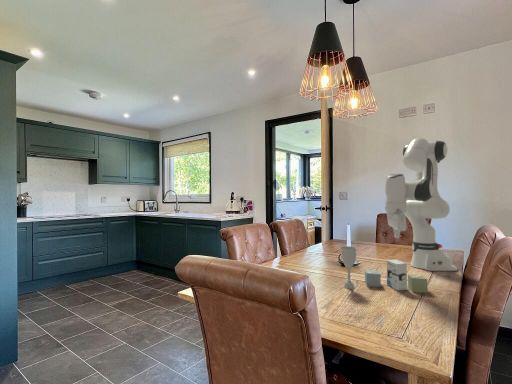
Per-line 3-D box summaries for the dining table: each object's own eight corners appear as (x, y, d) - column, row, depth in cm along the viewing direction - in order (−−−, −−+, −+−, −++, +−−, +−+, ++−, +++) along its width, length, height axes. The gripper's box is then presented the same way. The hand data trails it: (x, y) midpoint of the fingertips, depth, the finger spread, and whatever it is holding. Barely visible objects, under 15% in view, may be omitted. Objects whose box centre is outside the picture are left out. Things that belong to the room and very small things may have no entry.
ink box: (386, 284, 135) (386, 259, 135) (396, 284, 136) (396, 259, 136) (396, 290, 127) (396, 264, 127) (407, 290, 127) (407, 263, 127)
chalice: (357, 285, 134) (357, 246, 134) (357, 290, 128) (357, 249, 128) (341, 283, 137) (340, 246, 137) (340, 288, 130) (340, 248, 130)
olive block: (422, 288, 129) (422, 274, 129) (427, 293, 124) (427, 278, 124) (408, 287, 131) (407, 274, 131) (411, 292, 125) (411, 277, 125)
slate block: (378, 283, 138) (378, 270, 138) (380, 287, 132) (380, 273, 132) (364, 282, 139) (364, 269, 139) (366, 286, 133) (366, 273, 133)
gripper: (409, 210, 124) (410, 242, 125) (398, 206, 144) (398, 234, 145) (394, 210, 126) (395, 241, 126) (384, 206, 146) (385, 234, 146)
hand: (396, 237), depth 136 cm, fingers closed
